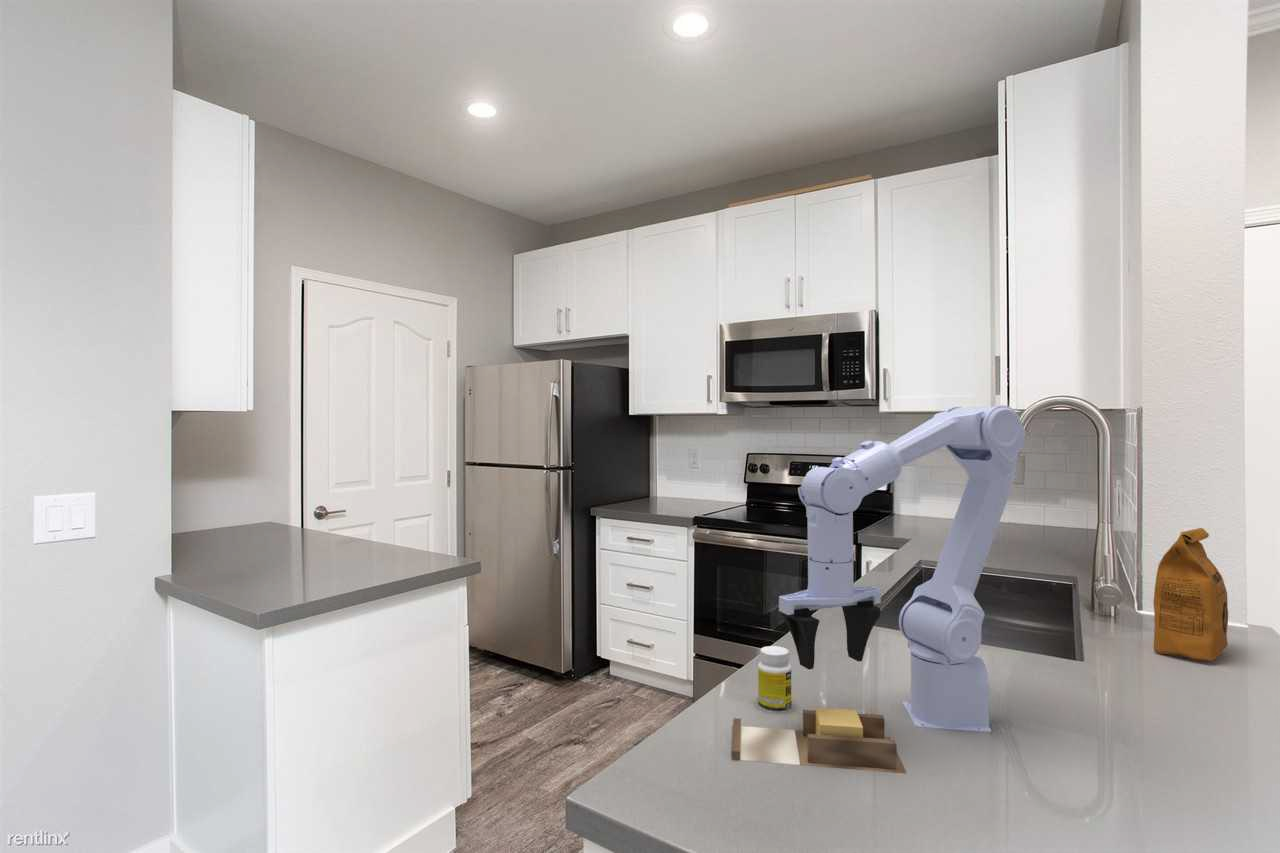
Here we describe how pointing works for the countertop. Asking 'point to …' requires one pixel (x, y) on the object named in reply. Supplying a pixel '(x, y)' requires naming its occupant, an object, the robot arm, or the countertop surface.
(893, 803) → the countertop surface
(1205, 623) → the coffee package
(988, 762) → the countertop surface
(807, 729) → the walnut chute
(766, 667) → the supplement bottle
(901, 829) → the countertop surface
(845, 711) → the ochre block
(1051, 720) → the countertop surface
